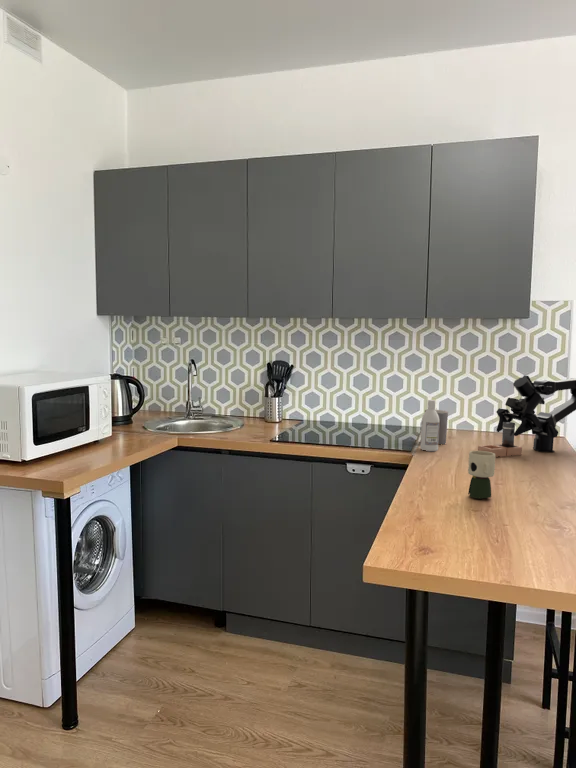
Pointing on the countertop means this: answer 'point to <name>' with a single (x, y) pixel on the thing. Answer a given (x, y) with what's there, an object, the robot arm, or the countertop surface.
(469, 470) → the character mug
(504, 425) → the tube
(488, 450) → the collar
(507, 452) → the collar
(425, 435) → the bath foam
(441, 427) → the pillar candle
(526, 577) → the countertop surface
